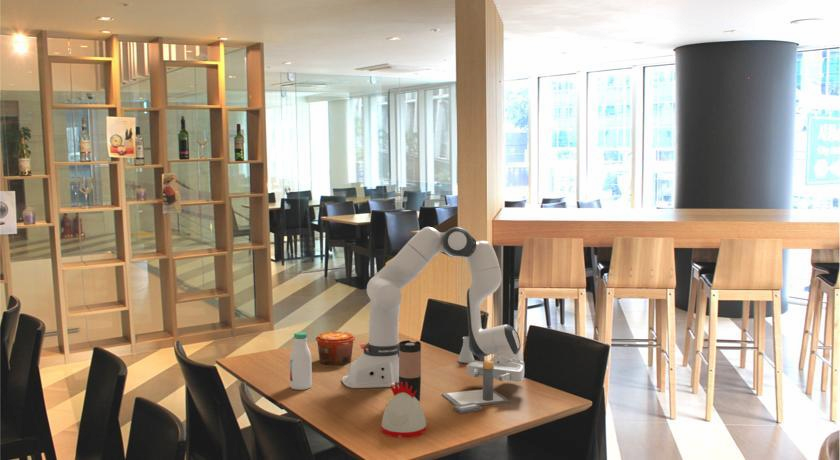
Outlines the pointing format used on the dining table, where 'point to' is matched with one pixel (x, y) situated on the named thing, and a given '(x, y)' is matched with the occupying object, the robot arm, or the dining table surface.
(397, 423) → the kitchen timer
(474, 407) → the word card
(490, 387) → the marker
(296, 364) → the milk bottle
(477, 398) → the paper pad
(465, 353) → the flask
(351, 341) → the food container
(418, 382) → the travel mug
